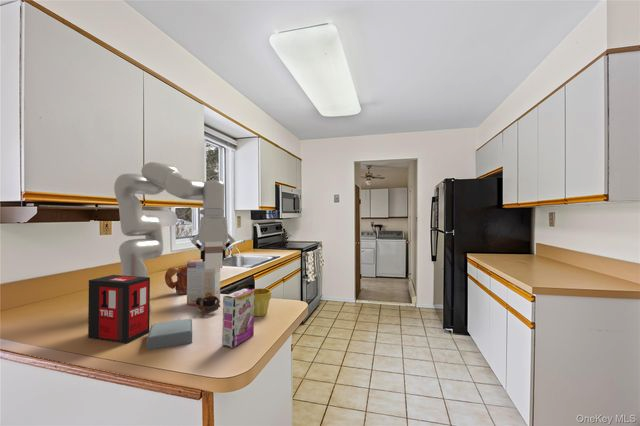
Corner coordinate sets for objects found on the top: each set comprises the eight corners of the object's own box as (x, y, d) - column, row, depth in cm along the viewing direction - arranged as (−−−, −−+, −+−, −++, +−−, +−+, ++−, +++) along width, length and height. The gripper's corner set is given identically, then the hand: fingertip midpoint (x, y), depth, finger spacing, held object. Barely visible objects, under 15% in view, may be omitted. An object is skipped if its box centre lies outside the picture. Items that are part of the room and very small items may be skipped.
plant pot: (246, 319, 116) (246, 295, 116) (246, 310, 126) (247, 288, 126) (271, 317, 119) (271, 293, 119) (270, 309, 129) (270, 287, 129)
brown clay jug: (225, 309, 129) (225, 296, 125) (212, 325, 121) (212, 312, 117) (201, 301, 131) (201, 288, 127) (188, 316, 123) (186, 303, 119)
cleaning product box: (88, 338, 97) (88, 280, 98) (112, 328, 106) (112, 274, 106) (127, 343, 94) (128, 283, 94) (149, 332, 102) (149, 277, 102)
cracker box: (220, 302, 138) (221, 259, 138) (214, 306, 132) (215, 261, 132) (193, 301, 139) (193, 258, 139) (186, 305, 133) (186, 260, 133)
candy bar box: (234, 349, 90) (234, 297, 91) (221, 346, 92) (222, 295, 92) (254, 335, 101) (255, 289, 101) (243, 333, 103) (243, 287, 103)
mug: (188, 290, 159) (188, 263, 159) (196, 292, 154) (196, 265, 154) (161, 296, 147) (161, 267, 147) (169, 299, 142) (169, 269, 142)
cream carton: (204, 269, 104) (205, 242, 104) (203, 266, 110) (204, 240, 110) (222, 268, 106) (222, 241, 106) (220, 265, 113) (220, 239, 113)
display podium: (146, 350, 89) (147, 337, 89) (151, 334, 101) (151, 323, 101) (192, 342, 95) (192, 330, 95) (191, 328, 106) (191, 317, 106)
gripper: (188, 213, 101) (188, 263, 101) (238, 213, 108) (237, 260, 108) (188, 213, 108) (188, 260, 108) (235, 213, 115) (234, 257, 115)
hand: (213, 260), depth 108 cm, fingers closed on cream carton, 6 cm apart
